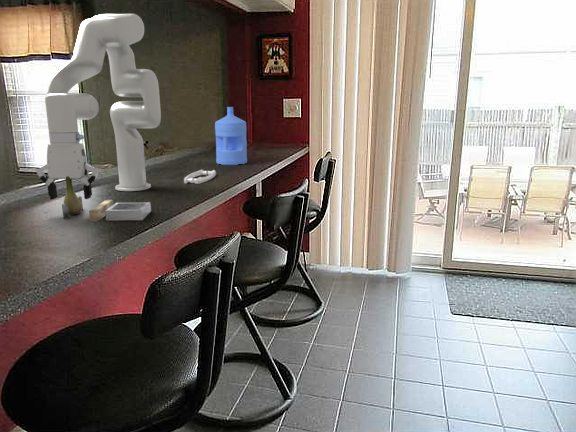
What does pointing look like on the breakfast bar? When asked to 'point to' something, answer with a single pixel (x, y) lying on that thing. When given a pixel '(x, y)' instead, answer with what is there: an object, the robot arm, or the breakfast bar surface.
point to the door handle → (200, 179)
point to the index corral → (128, 211)
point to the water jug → (231, 140)
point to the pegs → (66, 209)
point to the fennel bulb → (72, 198)
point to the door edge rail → (99, 210)
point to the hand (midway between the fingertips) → (70, 198)
